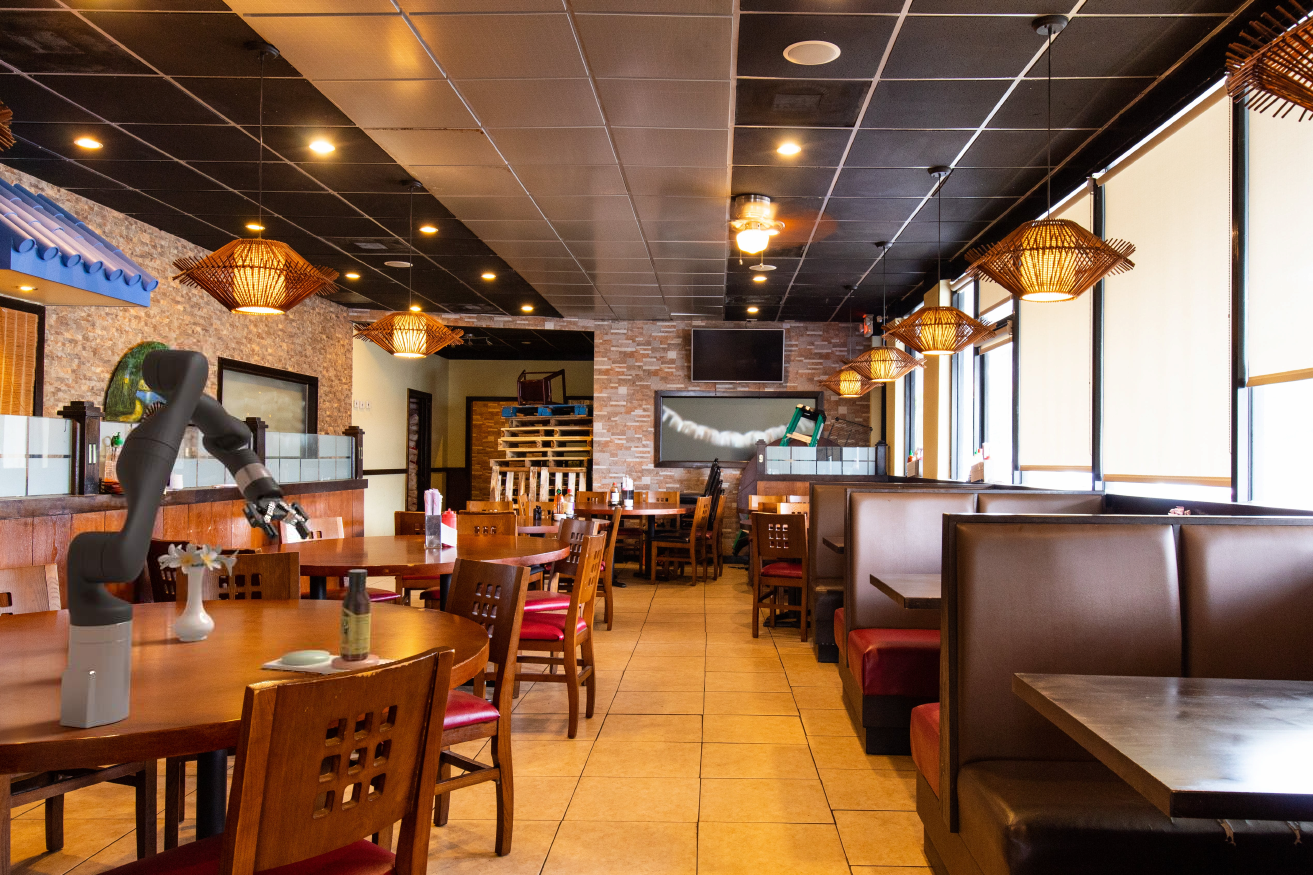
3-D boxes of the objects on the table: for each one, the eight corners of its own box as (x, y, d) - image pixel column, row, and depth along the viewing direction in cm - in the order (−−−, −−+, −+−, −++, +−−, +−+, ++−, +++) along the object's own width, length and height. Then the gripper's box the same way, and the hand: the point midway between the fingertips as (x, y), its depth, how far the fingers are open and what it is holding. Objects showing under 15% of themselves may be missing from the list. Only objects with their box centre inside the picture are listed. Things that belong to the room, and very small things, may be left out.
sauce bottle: (339, 656, 183) (341, 568, 184) (368, 654, 185) (370, 567, 186) (341, 663, 177) (343, 572, 178) (371, 660, 180) (373, 571, 180)
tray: (364, 677, 173) (364, 667, 174) (262, 668, 180) (263, 658, 180) (395, 664, 185) (396, 655, 185) (299, 656, 192) (299, 647, 192)
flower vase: (240, 638, 211) (244, 542, 212) (159, 647, 199) (163, 546, 201) (228, 630, 221) (231, 539, 222) (150, 639, 209) (154, 542, 210)
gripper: (239, 475, 182) (273, 527, 177) (292, 476, 195) (325, 525, 189) (222, 498, 184) (255, 550, 178) (275, 497, 197) (308, 546, 191)
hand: (291, 537), depth 184 cm, fingers open, 8 cm apart
